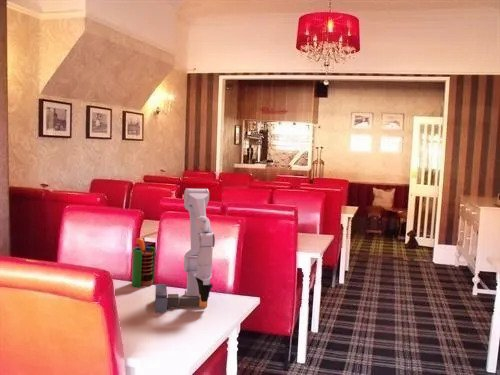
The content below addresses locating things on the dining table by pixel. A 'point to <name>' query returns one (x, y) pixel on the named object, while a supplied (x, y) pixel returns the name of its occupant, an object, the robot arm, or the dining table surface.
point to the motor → (143, 265)
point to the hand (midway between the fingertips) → (203, 298)
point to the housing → (161, 298)
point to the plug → (184, 301)
